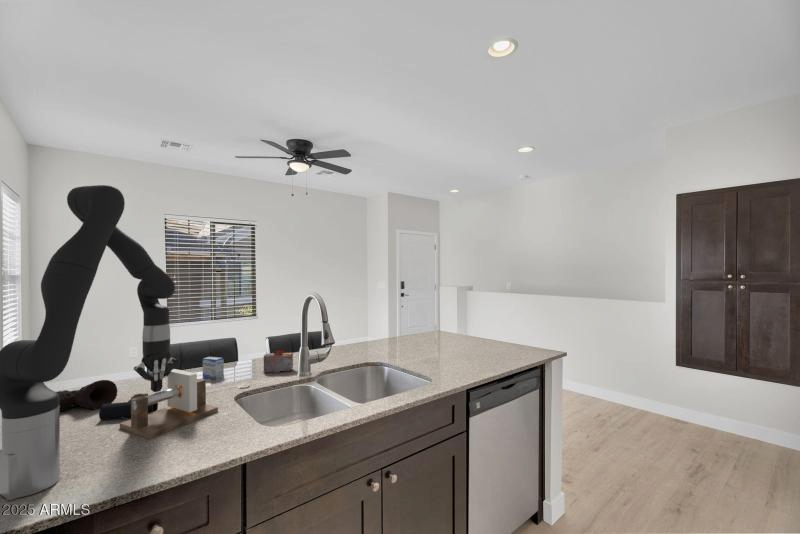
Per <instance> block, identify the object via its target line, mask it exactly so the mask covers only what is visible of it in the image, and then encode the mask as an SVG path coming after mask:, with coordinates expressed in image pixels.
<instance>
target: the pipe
mask: <svg viewBox="0 0 800 534" xmlns="http://www.w3.org/2000/svg"><path fill="white" fill-rule="evenodd" d="M55 392H56V393H58V395H59V405H60V412H62V411H64V410H67V409H69V408H71V407H74V406H80V407H83V408H88V409H90V410H100V408H101V406H102V405H103V404H110V403H114V401H115V400H116V398H117V396H118V386H117V384H116V383H115V382H114V381H112V380H108V379H100V380H96V381H93V382H91V383H90V384H87V385H85V386H83V387H81V388H80V389H76V390H75V389H74V390H62V391H61V390H59V391H55Z"/></svg>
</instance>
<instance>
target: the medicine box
mask: <svg viewBox="0 0 800 534" xmlns="http://www.w3.org/2000/svg"><path fill="white" fill-rule="evenodd" d="M224 359H225V358H224V357H219V356H218V357H217V356H207V357H204V358H202V378H203V379H212V378H218V379H220V378H219V377H221V376H223V377H224V375H225V374H224V373H225V372H224V371H225V370H224V369H225V368H224V366H225V365H224V364H225V362H224V361H225V360H224ZM221 378H222V377H221Z"/></svg>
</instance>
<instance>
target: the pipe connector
mask: <svg viewBox="0 0 800 534" xmlns="http://www.w3.org/2000/svg"><path fill="white" fill-rule="evenodd" d="M148 395H149V393H136V394H134V395H133V396H131V397H130V399H129V400H127V401H123V402H112V403H110V404H103V405H102V406H101V408H100V409H99V413H98V417H99V418H98V419H99V420H100V421H107V420H116V419H117V420H119V419H126V418H127V419H129V418H131V399H133V398H137V397H140V396H144V397H145V396H148ZM158 407H159V402H158V403H155V404H152V405H149V406H148V413H151V412H154V411H157V410H159V409H158Z"/></svg>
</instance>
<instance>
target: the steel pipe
mask: <svg viewBox="0 0 800 534" xmlns="http://www.w3.org/2000/svg"><path fill="white" fill-rule="evenodd" d="M181 395H182V386H177V387H175V388H171V389H168V390H167V389H165V390H162V391H158V392H154V393H152V394H148V396H145V397H147V398H148V406H149V405H152V404H155V403H158V404H159V403H161V402H163V401H168V399H170V398H174V397H177V396H181ZM131 407H132V409H133V410H136V408H137V404H136V401H135V400H134V401H132V402H131Z"/></svg>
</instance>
